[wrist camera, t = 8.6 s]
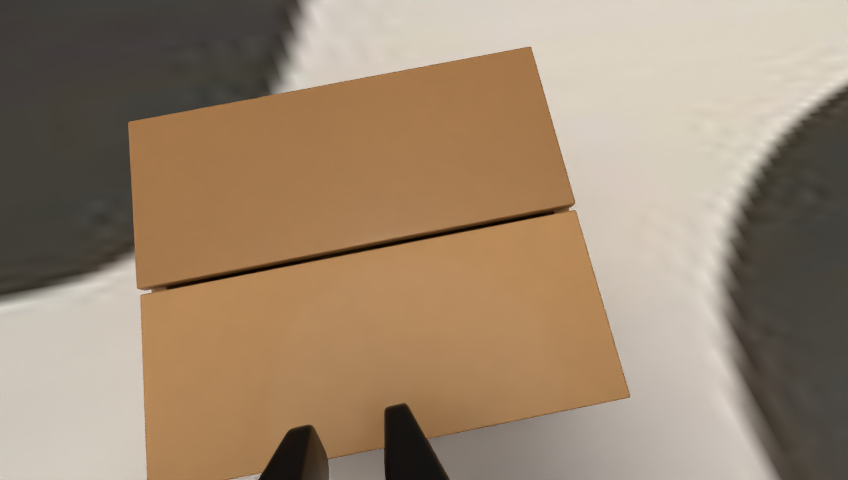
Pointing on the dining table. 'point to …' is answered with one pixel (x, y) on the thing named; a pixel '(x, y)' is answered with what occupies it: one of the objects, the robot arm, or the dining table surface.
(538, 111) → the carton
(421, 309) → the flap
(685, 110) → the dining table surface
